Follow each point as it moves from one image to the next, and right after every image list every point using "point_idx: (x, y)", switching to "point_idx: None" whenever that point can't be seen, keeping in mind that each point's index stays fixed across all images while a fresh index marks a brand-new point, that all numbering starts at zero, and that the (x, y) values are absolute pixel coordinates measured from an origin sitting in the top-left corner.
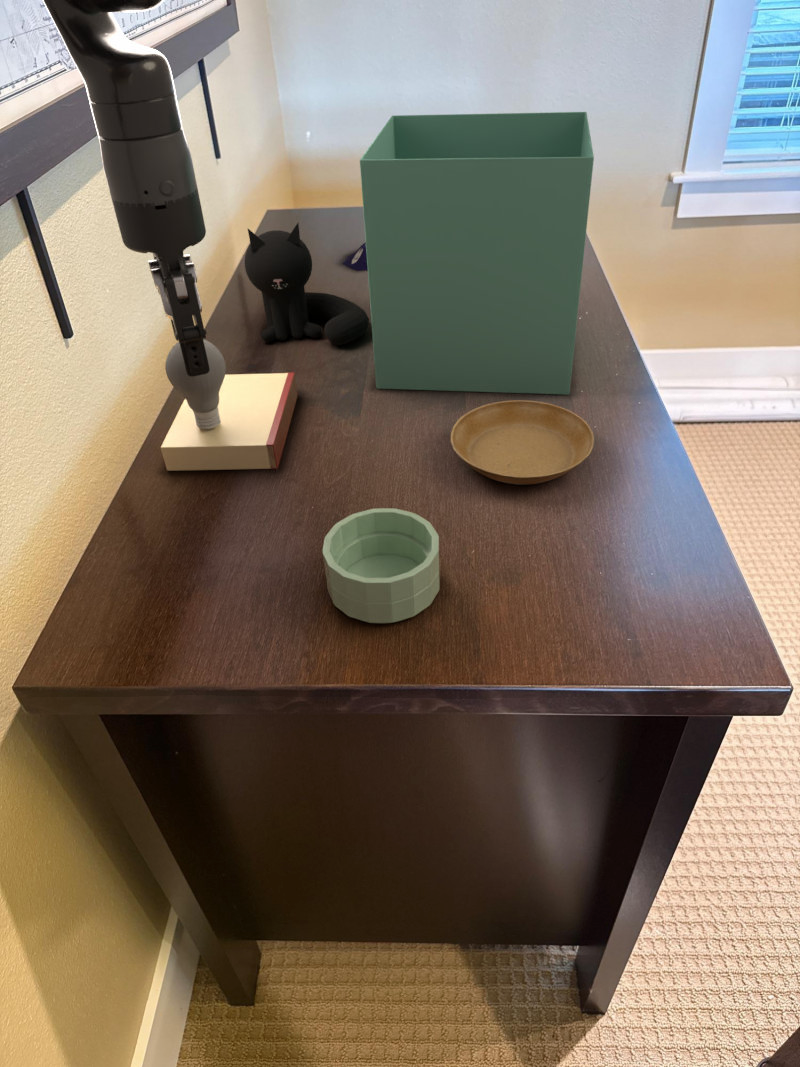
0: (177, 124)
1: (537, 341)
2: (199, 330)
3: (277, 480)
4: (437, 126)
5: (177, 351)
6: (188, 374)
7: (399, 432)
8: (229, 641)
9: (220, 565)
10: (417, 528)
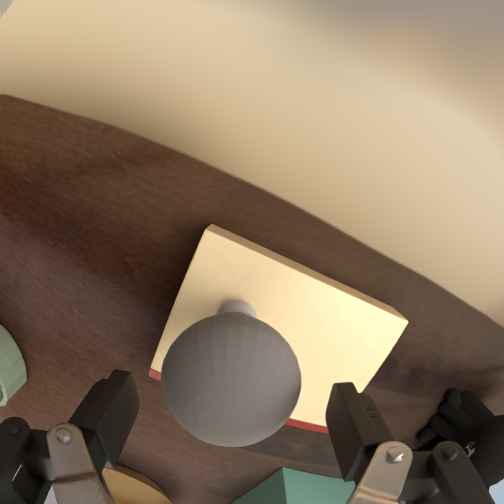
0: None
1: None
2: (21, 467)
3: (135, 346)
4: None
5: (201, 390)
6: (115, 370)
7: (187, 457)
8: None
9: (26, 249)
10: (1, 398)
